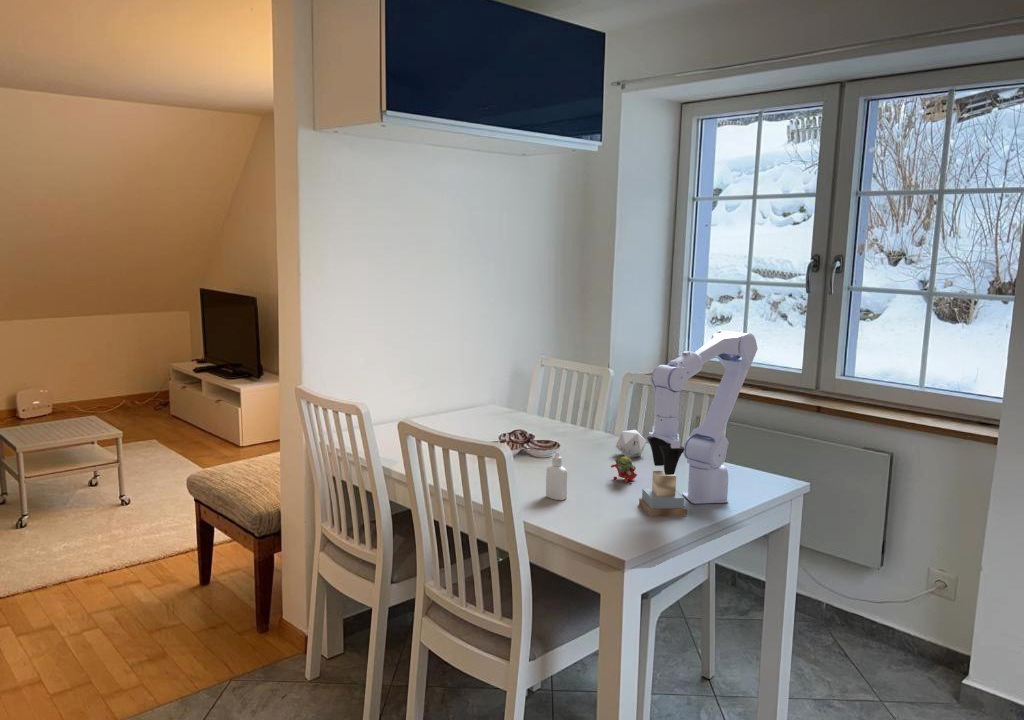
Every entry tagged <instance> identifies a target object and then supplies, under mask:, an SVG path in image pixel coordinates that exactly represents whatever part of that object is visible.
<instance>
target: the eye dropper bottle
mask: <svg viewBox="0 0 1024 720" xmlns="http://www.w3.org/2000/svg"><path fill="white" fill-rule="evenodd" d="M551 460H552V462H551V465H548V467H546V477H545V478H546V479H545V496H546V497H547V498H549V499H551V500H556V501H565V500H566V499H567V495H568V470H567V469H566V468H565V467H564V466H563V462H562V461H563V457H562V456H561V455H560V453H559V451H555V455H553V456H552V459H551Z"/></svg>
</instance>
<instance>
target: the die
mask: <svg viewBox="0 0 1024 720" xmlns="http://www.w3.org/2000/svg"><path fill="white" fill-rule="evenodd" d="M647 441H648V440H647V439H645V437H644V436H642V435H641V433H640V432H638V430H636V429H631V430H630V429H629V430H622V431H621V433H620V436H619V437H618V440H617V441H616V444H615V447H616V449H618V451H619V452H621V454H622V455H624V456H623V457H628V458H630V459H631V458H637V457H641V456H642V454H643V451H644V450H645V447H646V445H647Z"/></svg>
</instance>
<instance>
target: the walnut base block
mask: <svg viewBox="0 0 1024 720" xmlns="http://www.w3.org/2000/svg"><path fill="white" fill-rule="evenodd" d="M638 502H639V503H638V505H639V506H640V507H641V508H642V510H643V511H644V512H645V513H646V514H647V515H648V516H649V517H650V518H652V517H653V518H655V517H657V518H658V517H677V516H678V517H682V516H684V517H686V516H688V515H687V514H688V513H687V511H688V509H687V508H686V507H685V506H684V508H669V509H651V508H650V507H649V506H648V504H647V503H646V502H645V501H644V500H643V499H642V497H639V499H638Z"/></svg>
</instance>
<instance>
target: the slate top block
mask: <svg viewBox="0 0 1024 720" xmlns="http://www.w3.org/2000/svg"><path fill="white" fill-rule="evenodd" d="M641 490H642V491H641V493H642V494H641V498H642V499H643V500H644V501H645V502H646V503H647V504H648V506H649V507H650V508H651V509H669V508H684V507H685V496H684V495H683V494H682V493H680V492H679V491H678V490H676V491H675V496H657V495H656V494H655V493H654V492H653V491H652V487H651V488H646V487H645V488H642V489H641Z"/></svg>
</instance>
